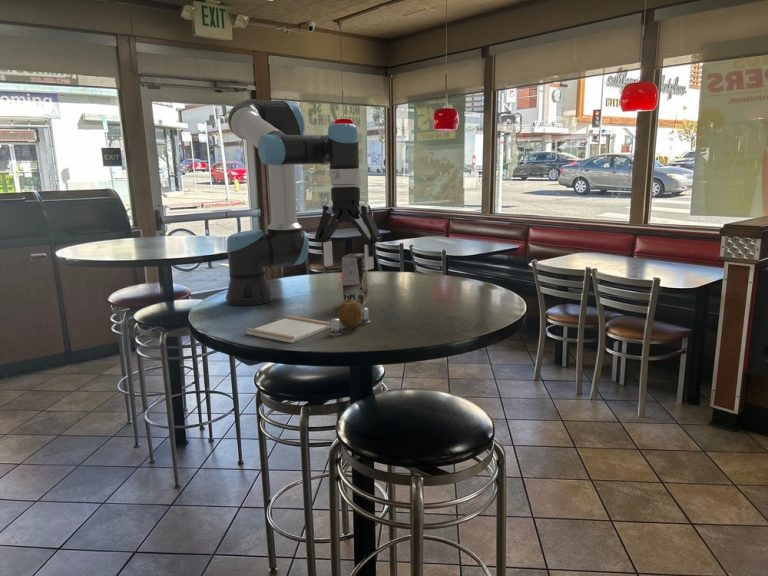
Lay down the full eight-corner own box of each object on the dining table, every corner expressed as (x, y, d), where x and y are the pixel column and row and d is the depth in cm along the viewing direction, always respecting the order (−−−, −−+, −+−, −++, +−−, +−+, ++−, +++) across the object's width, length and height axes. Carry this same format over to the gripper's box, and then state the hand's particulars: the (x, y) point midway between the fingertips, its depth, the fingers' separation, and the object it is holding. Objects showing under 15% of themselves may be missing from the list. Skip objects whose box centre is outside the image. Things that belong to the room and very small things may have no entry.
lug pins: (326, 334, 145) (325, 320, 144) (363, 320, 158) (362, 306, 158) (336, 336, 143) (336, 321, 142) (373, 321, 156) (372, 308, 156)
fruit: (362, 324, 154) (361, 296, 152) (361, 331, 147) (360, 301, 146) (340, 325, 154) (339, 297, 152) (337, 331, 148) (336, 302, 146)
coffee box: (362, 308, 172) (361, 257, 169) (342, 307, 174) (340, 256, 170) (369, 301, 181) (367, 252, 178) (350, 301, 183) (348, 252, 179)
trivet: (246, 333, 147) (246, 328, 147) (288, 320, 160) (288, 315, 160) (291, 342, 139) (291, 337, 138) (331, 327, 152) (331, 322, 151)
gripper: (299, 187, 147) (303, 266, 151) (376, 185, 133) (379, 272, 137) (317, 186, 153) (321, 262, 157) (393, 185, 139) (395, 268, 143)
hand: (348, 267), depth 147 cm, fingers open, 13 cm apart
